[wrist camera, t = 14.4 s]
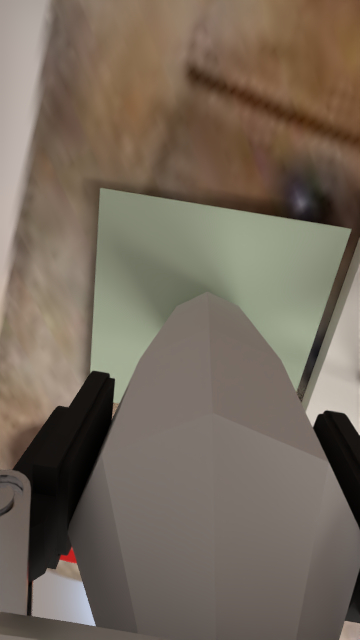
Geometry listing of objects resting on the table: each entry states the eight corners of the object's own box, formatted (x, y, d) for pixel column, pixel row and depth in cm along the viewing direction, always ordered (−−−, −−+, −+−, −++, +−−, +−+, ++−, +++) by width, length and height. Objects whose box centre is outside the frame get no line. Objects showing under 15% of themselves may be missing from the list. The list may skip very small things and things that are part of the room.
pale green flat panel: (343, 227, 17) (351, 229, 16) (279, 420, 22) (283, 430, 21) (105, 188, 17) (99, 187, 16) (93, 389, 22) (88, 398, 21)
